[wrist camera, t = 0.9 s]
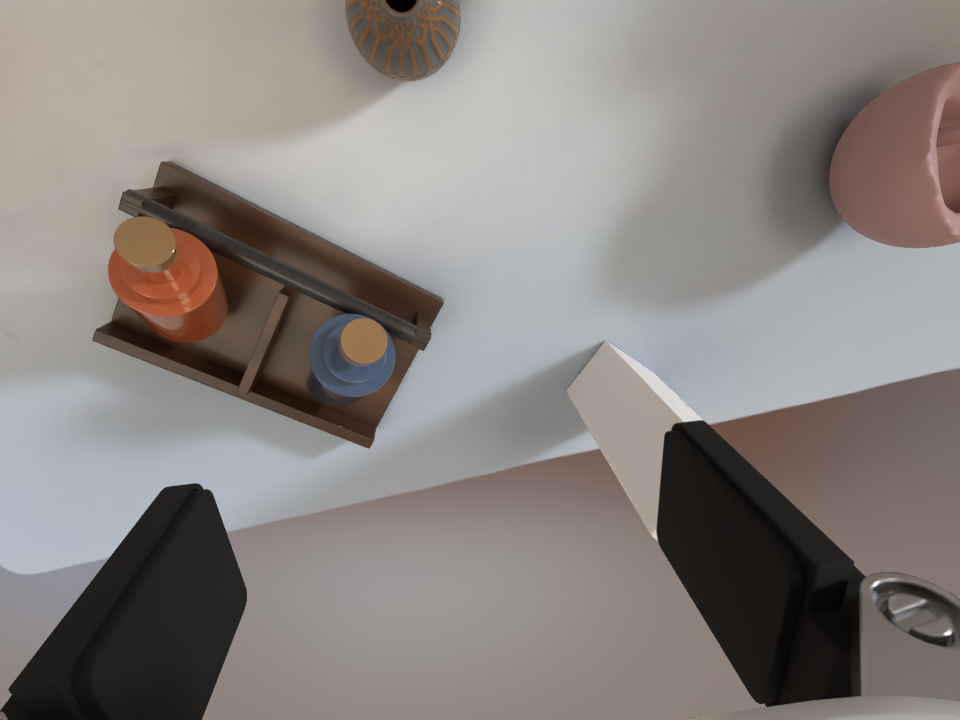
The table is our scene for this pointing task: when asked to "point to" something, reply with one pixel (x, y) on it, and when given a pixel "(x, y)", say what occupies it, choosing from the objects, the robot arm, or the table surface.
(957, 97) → the mortar and pestle
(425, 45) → the vase
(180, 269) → the terracotta bottle
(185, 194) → the rack
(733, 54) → the table surface
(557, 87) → the table surface
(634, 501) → the milk
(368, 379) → the slate bottle
